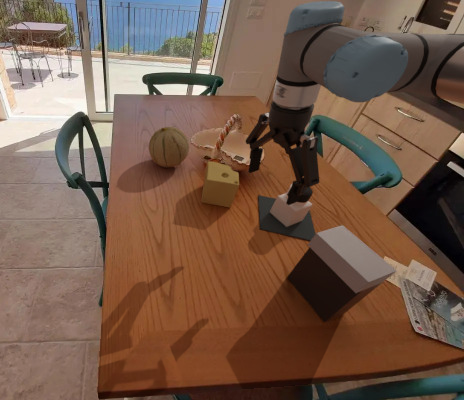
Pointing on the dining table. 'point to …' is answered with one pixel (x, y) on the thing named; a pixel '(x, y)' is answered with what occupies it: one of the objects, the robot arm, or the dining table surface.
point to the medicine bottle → (291, 208)
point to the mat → (272, 224)
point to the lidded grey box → (338, 272)
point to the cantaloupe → (168, 147)
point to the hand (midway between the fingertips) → (271, 185)
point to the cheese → (219, 184)
